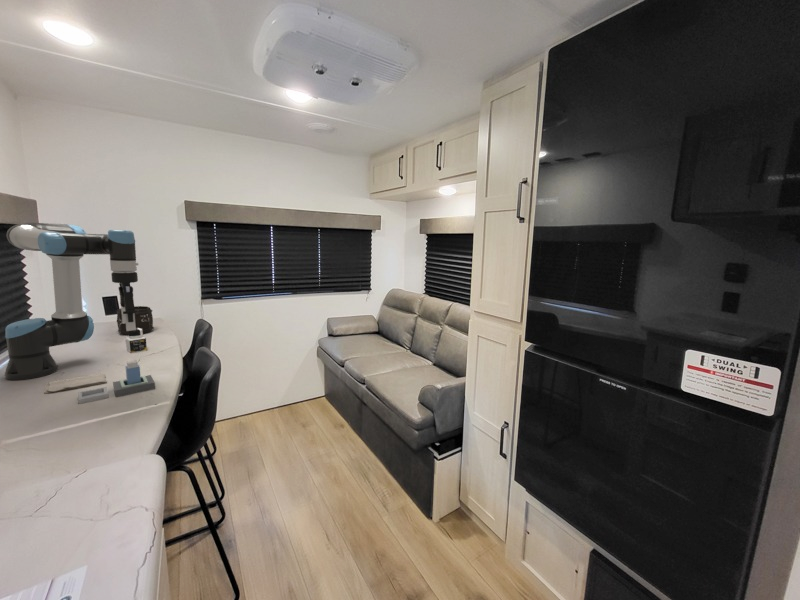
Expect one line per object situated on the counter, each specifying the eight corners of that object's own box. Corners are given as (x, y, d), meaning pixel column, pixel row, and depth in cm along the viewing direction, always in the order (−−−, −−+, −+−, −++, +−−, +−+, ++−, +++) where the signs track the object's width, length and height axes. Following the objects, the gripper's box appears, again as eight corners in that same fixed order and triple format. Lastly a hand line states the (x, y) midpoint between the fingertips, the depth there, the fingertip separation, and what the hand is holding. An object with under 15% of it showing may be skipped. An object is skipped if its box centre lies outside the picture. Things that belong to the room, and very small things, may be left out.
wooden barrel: (125, 329, 216) (123, 305, 214) (157, 328, 221) (156, 305, 219) (111, 336, 199) (108, 311, 197) (146, 335, 205) (144, 310, 202)
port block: (116, 399, 123) (115, 389, 123) (113, 390, 130) (112, 380, 130) (155, 390, 132) (154, 381, 131) (151, 382, 139) (150, 373, 138)
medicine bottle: (130, 353, 172) (128, 331, 171) (126, 350, 177) (124, 328, 175) (147, 350, 178) (145, 328, 176) (142, 347, 182) (141, 326, 180)
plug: (128, 393, 128) (126, 364, 126) (127, 390, 131) (125, 361, 129) (141, 391, 131) (139, 362, 129) (140, 387, 134) (137, 359, 132)
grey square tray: (78, 406, 117) (78, 399, 117) (78, 398, 123) (77, 392, 122) (108, 399, 123) (108, 393, 122) (107, 392, 128) (106, 386, 128)
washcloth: (45, 388, 131) (45, 381, 130) (106, 377, 143) (105, 370, 143) (43, 399, 122) (42, 391, 122) (108, 386, 135) (107, 379, 134)
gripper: (141, 274, 118) (146, 332, 121) (132, 268, 135) (136, 319, 138) (114, 275, 112) (119, 335, 116) (108, 269, 130) (113, 321, 133)
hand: (128, 326), depth 127 cm, fingers open, 13 cm apart
